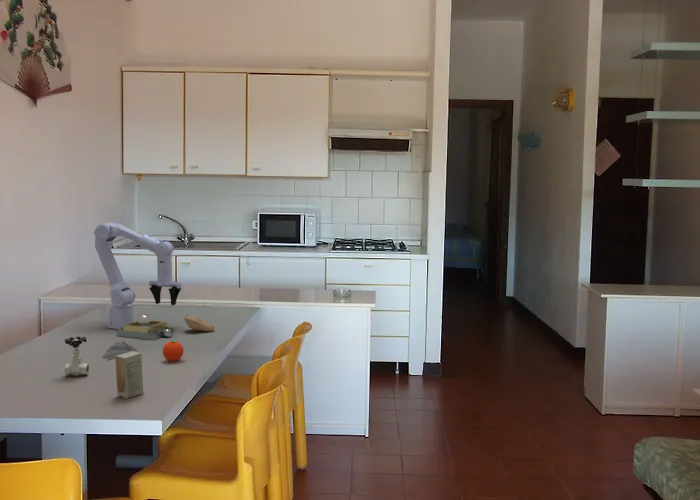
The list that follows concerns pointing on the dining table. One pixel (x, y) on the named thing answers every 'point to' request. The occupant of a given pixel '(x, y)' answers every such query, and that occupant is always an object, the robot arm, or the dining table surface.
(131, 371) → the skincare box
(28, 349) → the dining table surface
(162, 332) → the metal tray
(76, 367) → the valve
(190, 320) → the pottery oil lamp
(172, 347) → the clementine
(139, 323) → the tin can
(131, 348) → the cloth
